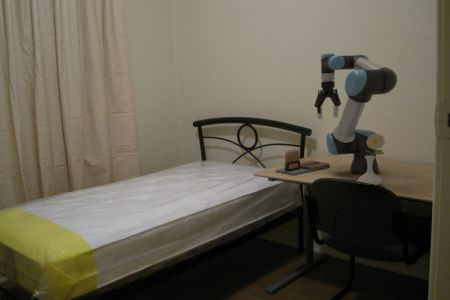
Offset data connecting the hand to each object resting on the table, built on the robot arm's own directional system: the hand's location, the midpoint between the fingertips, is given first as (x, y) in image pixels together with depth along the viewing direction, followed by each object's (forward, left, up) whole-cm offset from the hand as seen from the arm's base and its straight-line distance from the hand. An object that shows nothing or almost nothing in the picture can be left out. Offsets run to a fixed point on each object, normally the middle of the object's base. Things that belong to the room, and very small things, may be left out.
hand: (327, 118), depth 245 cm
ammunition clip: (+4, +25, -28) cm, 38 cm away
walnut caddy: (+4, +10, -29) cm, 31 cm away
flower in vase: (-44, +20, -29) cm, 56 cm away
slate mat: (+4, +25, -29) cm, 38 cm away
